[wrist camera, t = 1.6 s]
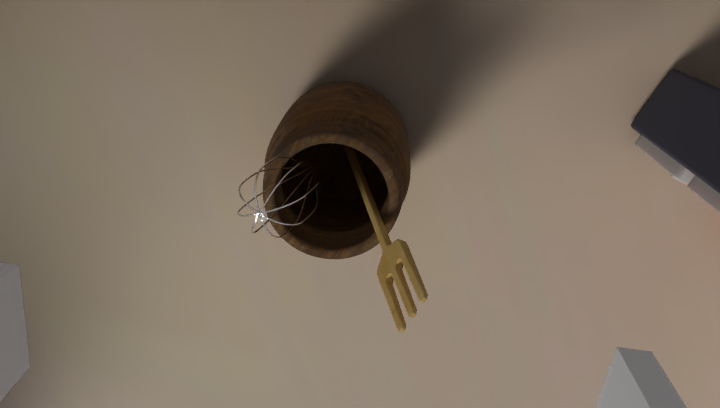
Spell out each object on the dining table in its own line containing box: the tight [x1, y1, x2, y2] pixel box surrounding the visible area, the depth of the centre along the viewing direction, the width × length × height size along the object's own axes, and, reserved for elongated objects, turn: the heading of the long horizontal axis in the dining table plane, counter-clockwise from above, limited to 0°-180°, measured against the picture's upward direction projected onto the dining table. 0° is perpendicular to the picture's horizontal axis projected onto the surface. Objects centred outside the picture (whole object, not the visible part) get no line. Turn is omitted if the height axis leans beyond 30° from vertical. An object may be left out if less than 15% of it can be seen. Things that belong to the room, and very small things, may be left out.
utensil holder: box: [237, 82, 428, 332], centre depth 23 cm, size 6×6×12 cm
